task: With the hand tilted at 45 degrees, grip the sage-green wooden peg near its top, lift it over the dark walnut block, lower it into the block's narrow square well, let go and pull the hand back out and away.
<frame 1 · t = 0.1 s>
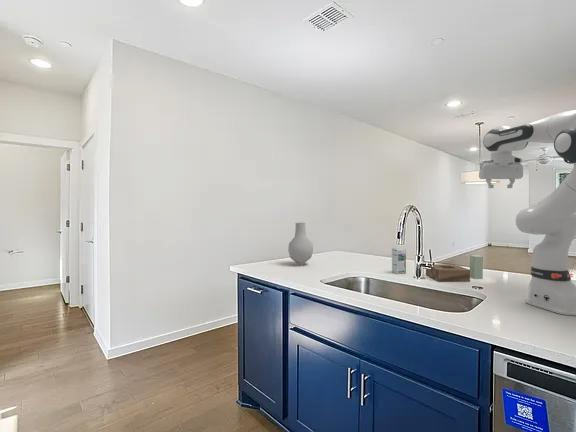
hand: (500, 188, 163), 48 cm above the worktop, tool pointing down, fingers open, 8 cm apart
peg: (476, 277, 179), on the worktop
well block: (446, 278, 179), on the worktop
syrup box: (398, 273, 193), on the worktop
vase: (300, 264, 221), on the worktop
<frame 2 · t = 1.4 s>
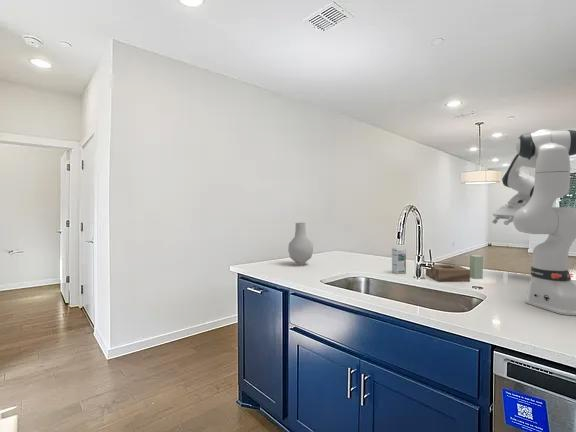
hand: (499, 223, 178), 29 cm above the worktop, tool tilted 45°, fingers open, 8 cm apart
nothing on the worktop moved.
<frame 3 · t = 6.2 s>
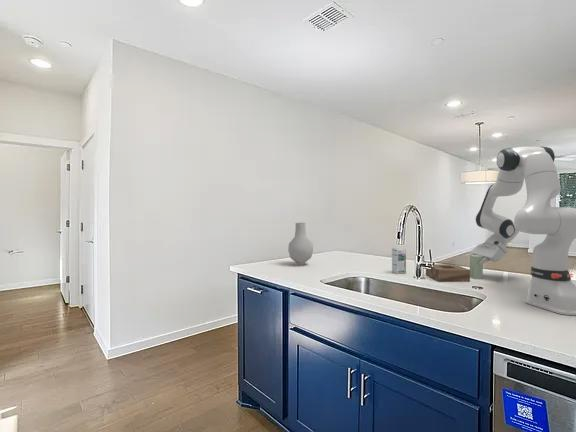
hand: (476, 263, 179), 8 cm above the worktop, tool tilted 45°, fingers closed on peg, 4 cm apart
peg: (476, 277, 179), on the worktop, touching gripper
everything else where it was.
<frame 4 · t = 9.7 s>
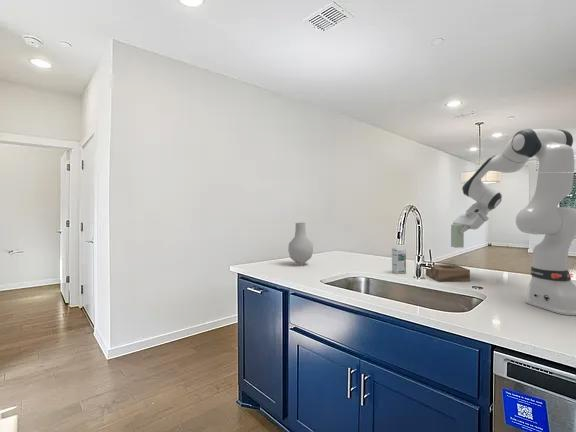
hand: (457, 232, 178), 25 cm above the worktop, tool tilted 45°, fingers closed on peg, 4 cm apart
peg: (457, 246, 178), point 17 cm above the worktop, touching gripper
everything else where it was.
when the fingers open (10 cm above the worktop, at t = 13.5 s): peg drops 2 cm, resting in well block.
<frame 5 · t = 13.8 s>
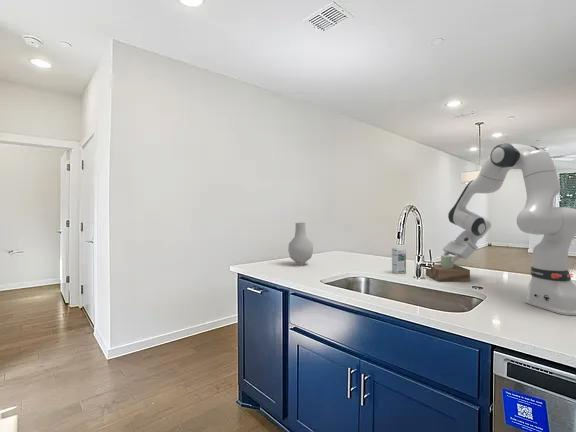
hand: (446, 260, 178), 10 cm above the worktop, tool tilted 45°, fingers open, 8 cm apart
peg: (446, 278, 179), resting in well block
everything else where it was.
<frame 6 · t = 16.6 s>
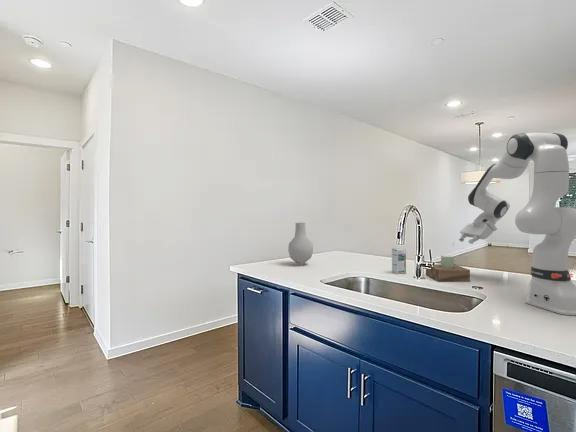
hand: (464, 241, 178), 20 cm above the worktop, tool tilted 45°, fingers open, 8 cm apart
nothing on the worktop moved.
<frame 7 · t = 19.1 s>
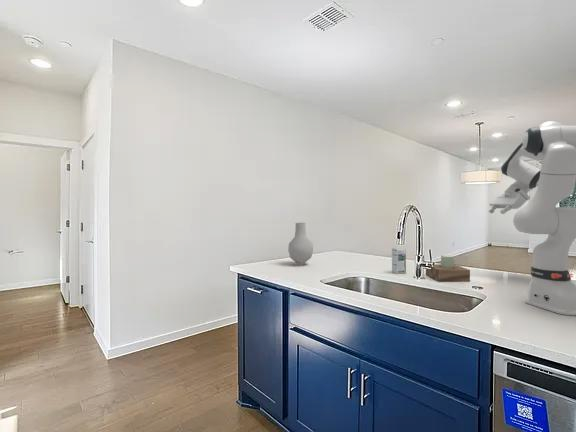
hand: (495, 212, 175), 35 cm above the worktop, tool tilted 45°, fingers open, 8 cm apart
nothing on the worktop moved.
at the end: peg 0.1 cm off-centre on the well block, point 0.0 cm above the well block's base; peg tilted 0°; the gripper is holding nothing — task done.
